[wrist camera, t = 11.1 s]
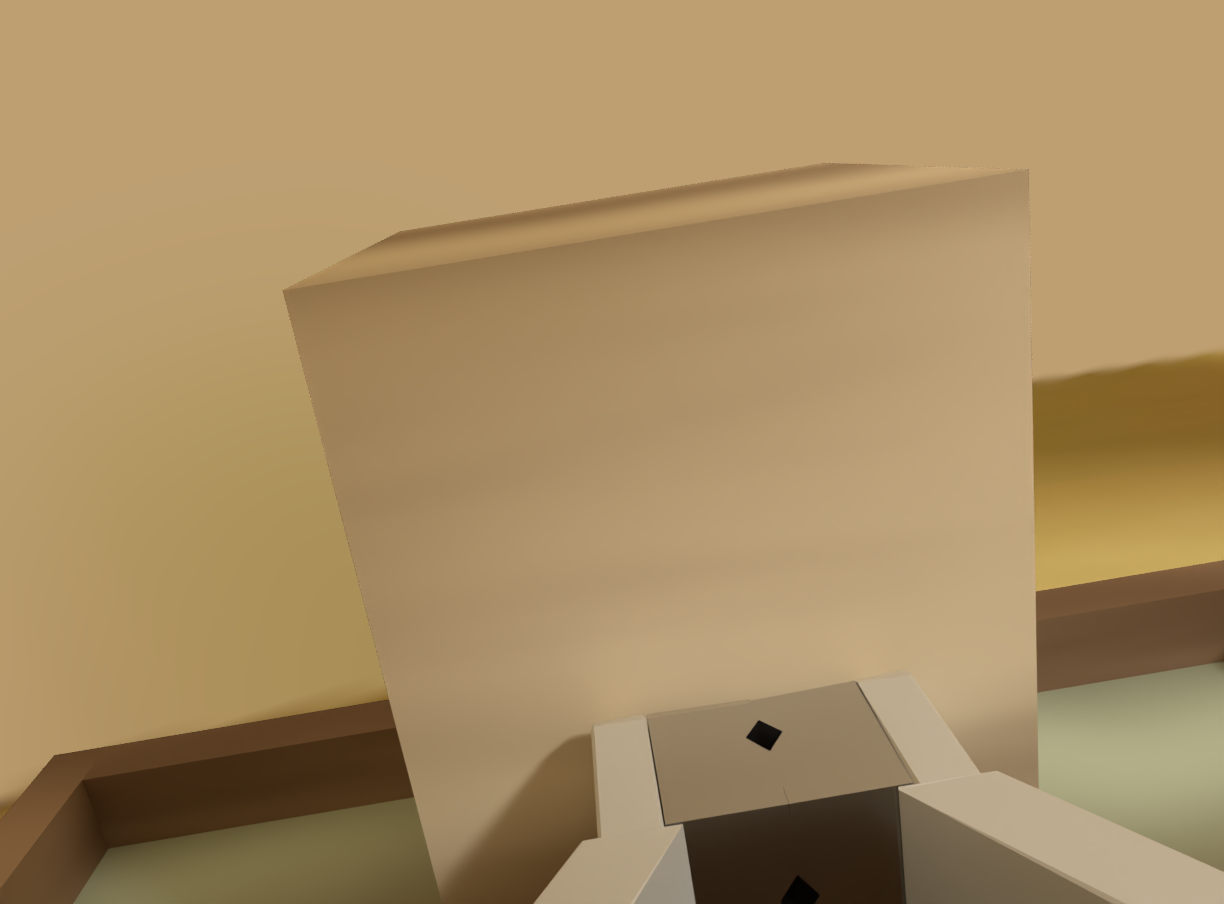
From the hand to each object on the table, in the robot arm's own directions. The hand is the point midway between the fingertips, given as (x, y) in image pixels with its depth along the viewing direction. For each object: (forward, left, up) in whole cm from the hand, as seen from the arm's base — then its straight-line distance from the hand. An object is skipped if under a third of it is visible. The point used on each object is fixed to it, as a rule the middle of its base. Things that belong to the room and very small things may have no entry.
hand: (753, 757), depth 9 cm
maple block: (-3, -2, -5) cm, 6 cm away
